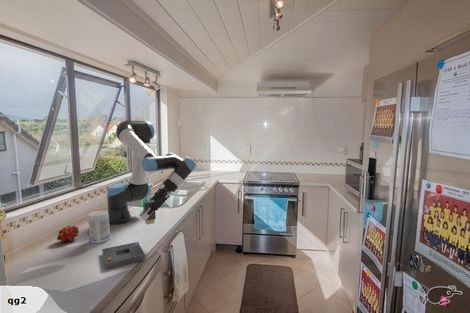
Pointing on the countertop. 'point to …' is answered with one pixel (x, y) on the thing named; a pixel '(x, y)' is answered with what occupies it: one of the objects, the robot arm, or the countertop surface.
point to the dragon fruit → (68, 233)
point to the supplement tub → (99, 226)
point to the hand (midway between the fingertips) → (141, 218)
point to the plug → (145, 207)
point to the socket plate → (122, 255)
